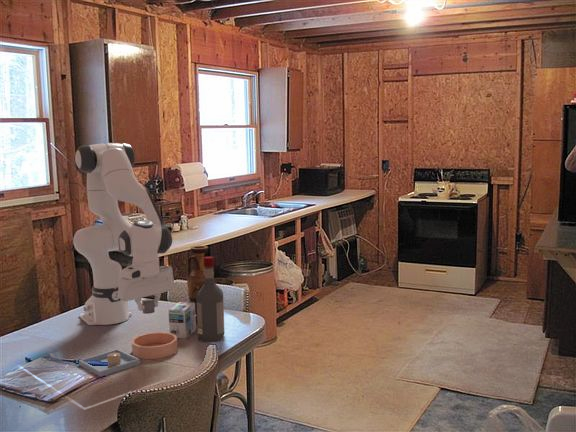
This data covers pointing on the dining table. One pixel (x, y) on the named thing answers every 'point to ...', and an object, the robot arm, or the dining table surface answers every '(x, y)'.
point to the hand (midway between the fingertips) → (148, 308)
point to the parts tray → (101, 371)
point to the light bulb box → (182, 319)
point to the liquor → (210, 307)
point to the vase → (196, 274)
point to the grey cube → (148, 306)
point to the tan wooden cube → (113, 359)
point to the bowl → (154, 345)
